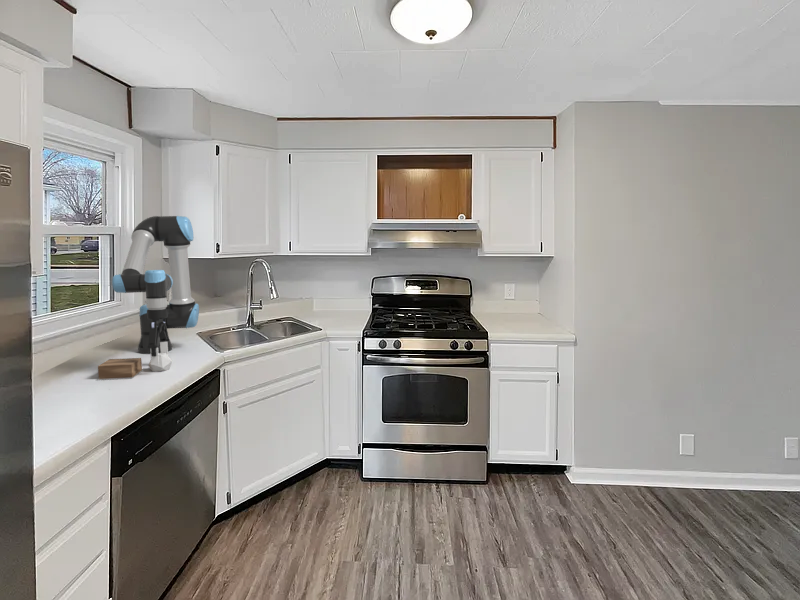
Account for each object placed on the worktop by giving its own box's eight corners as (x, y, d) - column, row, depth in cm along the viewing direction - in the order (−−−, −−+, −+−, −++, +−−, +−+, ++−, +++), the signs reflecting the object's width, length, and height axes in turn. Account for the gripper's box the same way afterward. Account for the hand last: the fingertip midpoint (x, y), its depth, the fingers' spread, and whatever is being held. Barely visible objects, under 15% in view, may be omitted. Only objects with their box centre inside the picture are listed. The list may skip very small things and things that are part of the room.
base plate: (111, 373, 222) (110, 370, 222) (144, 371, 224) (144, 368, 224) (95, 383, 206) (95, 380, 206) (132, 381, 208) (131, 378, 208)
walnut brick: (110, 371, 220) (109, 359, 219) (142, 370, 222) (141, 357, 221) (98, 378, 208) (97, 366, 208) (132, 377, 210) (131, 364, 209)
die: (171, 370, 228) (156, 352, 227) (180, 363, 223) (164, 345, 222) (156, 381, 222) (140, 363, 220) (165, 374, 216) (148, 355, 215)
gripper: (156, 305, 231) (158, 354, 233) (137, 312, 206) (140, 367, 208) (174, 304, 232) (177, 354, 234) (158, 311, 207) (161, 366, 209)
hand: (160, 360), depth 221 cm, fingers open, 13 cm apart
